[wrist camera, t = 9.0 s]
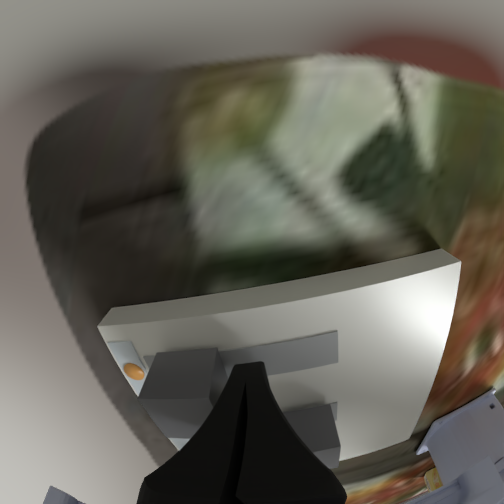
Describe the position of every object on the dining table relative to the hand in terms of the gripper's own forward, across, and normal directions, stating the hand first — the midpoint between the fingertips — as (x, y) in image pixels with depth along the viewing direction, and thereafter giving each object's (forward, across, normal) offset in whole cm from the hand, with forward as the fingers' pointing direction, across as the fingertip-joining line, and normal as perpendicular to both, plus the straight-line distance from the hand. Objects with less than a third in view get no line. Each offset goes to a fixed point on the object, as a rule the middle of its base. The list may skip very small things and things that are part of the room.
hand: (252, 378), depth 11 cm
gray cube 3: (+1, +3, 0) cm, 3 cm away
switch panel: (+3, -2, +6) cm, 7 cm away
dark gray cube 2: (+1, -2, +6) cm, 6 cm away
